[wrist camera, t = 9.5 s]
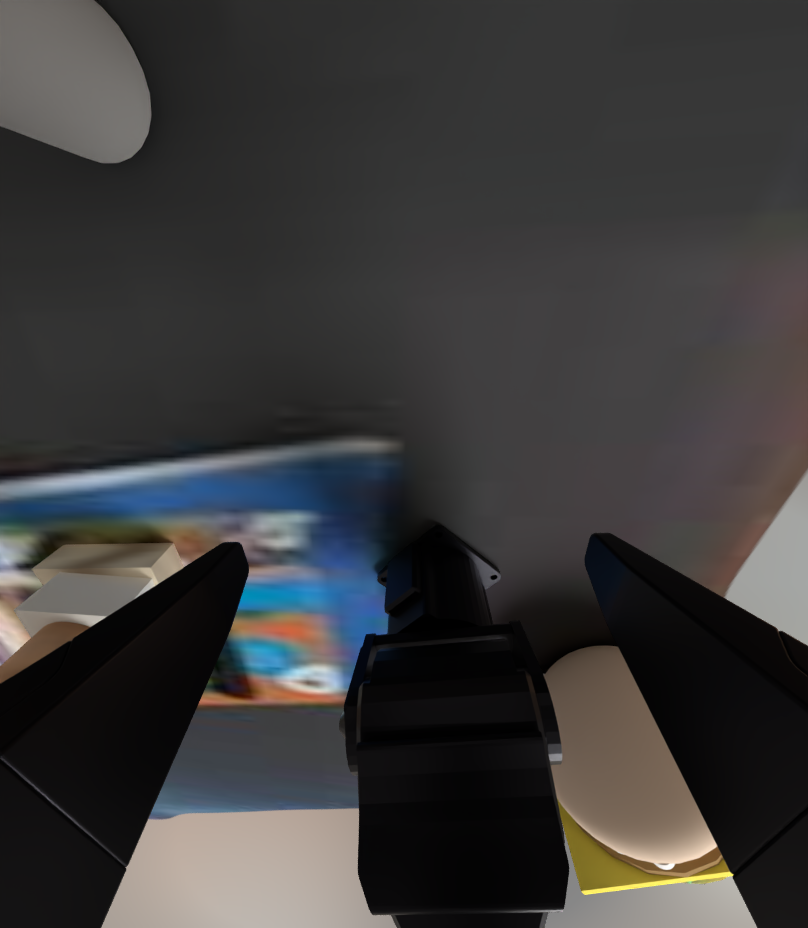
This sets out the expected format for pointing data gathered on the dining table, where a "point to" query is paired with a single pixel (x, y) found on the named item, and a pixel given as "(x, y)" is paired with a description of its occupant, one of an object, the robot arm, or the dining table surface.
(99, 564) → the birch slab
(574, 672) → the hamburger
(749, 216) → the dining table surface
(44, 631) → the tan cylinder
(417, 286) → the dining table surface
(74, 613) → the white block
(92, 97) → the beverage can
